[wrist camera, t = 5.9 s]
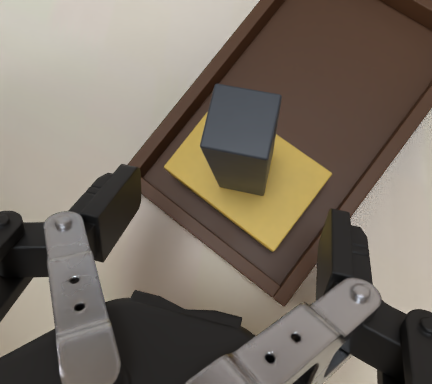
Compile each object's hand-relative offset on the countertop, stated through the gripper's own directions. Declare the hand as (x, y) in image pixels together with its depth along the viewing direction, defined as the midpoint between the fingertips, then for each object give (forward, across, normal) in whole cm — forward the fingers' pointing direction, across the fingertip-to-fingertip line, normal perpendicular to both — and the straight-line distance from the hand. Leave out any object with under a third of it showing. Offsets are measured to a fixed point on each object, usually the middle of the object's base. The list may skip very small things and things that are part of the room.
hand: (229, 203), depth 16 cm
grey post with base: (+8, 0, +4) cm, 9 cm away
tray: (+12, -2, +1) cm, 12 cm away
